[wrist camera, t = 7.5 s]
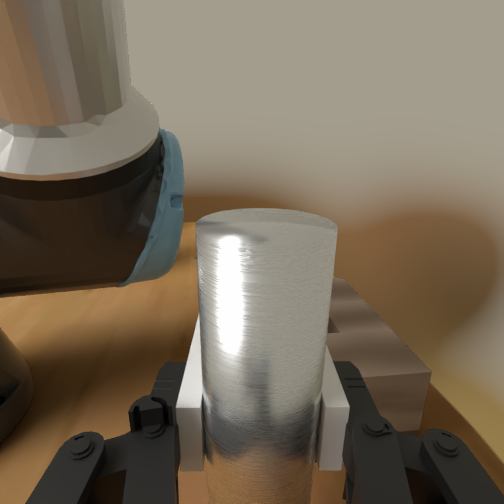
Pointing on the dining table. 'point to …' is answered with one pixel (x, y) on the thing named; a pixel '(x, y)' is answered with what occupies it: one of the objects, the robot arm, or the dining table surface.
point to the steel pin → (263, 350)
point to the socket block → (377, 358)
